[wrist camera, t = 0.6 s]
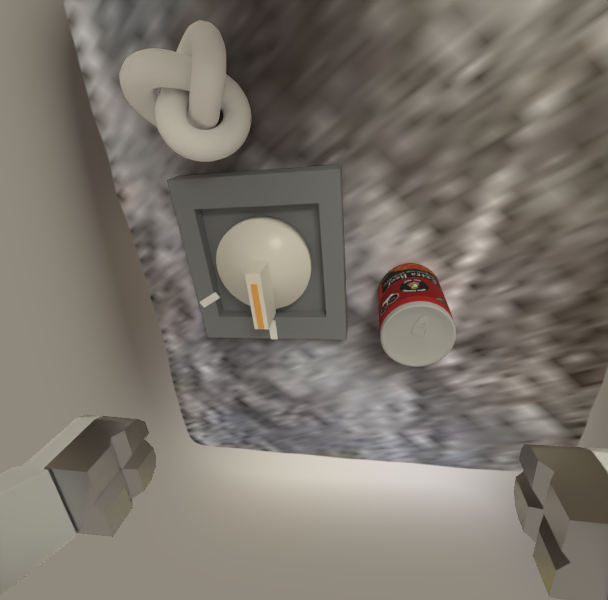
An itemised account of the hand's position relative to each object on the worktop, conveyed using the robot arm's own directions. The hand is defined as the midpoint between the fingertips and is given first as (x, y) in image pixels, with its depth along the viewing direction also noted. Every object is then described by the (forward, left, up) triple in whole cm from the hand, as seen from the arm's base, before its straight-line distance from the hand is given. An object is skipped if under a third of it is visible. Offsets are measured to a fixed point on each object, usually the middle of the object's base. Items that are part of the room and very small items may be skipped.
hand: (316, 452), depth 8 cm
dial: (+11, -12, -37) cm, 40 cm away
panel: (+11, -12, -38) cm, 41 cm away
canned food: (+16, +6, -38) cm, 42 cm away
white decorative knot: (-8, -17, -38) cm, 43 cm away
